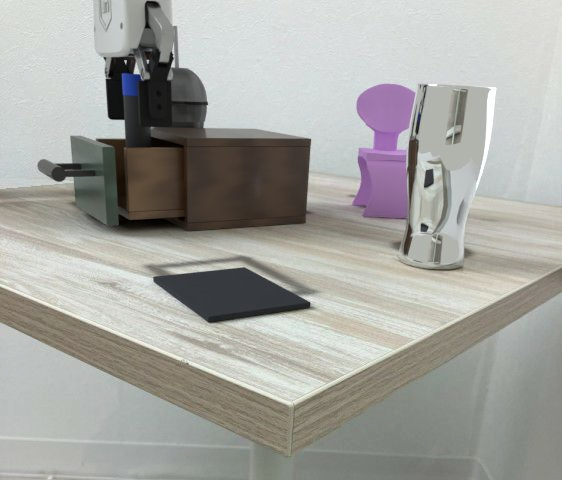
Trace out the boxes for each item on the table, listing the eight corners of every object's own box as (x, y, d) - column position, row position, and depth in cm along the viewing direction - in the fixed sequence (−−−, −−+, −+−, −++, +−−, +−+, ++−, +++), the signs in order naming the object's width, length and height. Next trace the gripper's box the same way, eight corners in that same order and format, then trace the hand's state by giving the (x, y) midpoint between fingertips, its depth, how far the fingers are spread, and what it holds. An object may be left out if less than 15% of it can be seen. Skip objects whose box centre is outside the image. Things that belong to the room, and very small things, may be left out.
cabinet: (187, 231, 67) (186, 137, 63) (144, 209, 76) (141, 127, 72) (305, 222, 74) (311, 138, 70) (252, 203, 83) (255, 128, 80)
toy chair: (354, 216, 79) (367, 82, 72) (344, 204, 87) (355, 81, 80) (421, 219, 79) (439, 86, 73) (404, 206, 87) (420, 85, 81)
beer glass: (467, 256, 63) (496, 87, 56) (469, 274, 56) (502, 87, 50) (395, 249, 64) (415, 83, 58) (389, 266, 58) (412, 82, 51)
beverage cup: (159, 202, 80) (155, 21, 72) (146, 193, 86) (140, 24, 78) (215, 201, 83) (217, 26, 75) (198, 192, 89) (198, 29, 81)
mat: (153, 281, 50) (153, 276, 50) (244, 271, 54) (244, 267, 53) (208, 322, 42) (208, 316, 42) (310, 307, 46) (310, 302, 46)
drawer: (62, 228, 61) (55, 147, 58) (36, 207, 69) (28, 135, 66) (230, 218, 69) (232, 146, 66) (188, 200, 78) (187, 136, 75)
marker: (124, 200, 70) (118, 73, 64) (148, 199, 71) (144, 74, 66) (132, 204, 68) (127, 73, 62) (157, 203, 69) (153, 75, 64)
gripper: (64, -70, 64) (78, 116, 71) (120, -105, 50) (131, 129, 57) (137, -59, 67) (144, 118, 74) (207, -88, 54) (208, 130, 61)
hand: (138, 122), depth 66 cm, fingers open, 9 cm apart
